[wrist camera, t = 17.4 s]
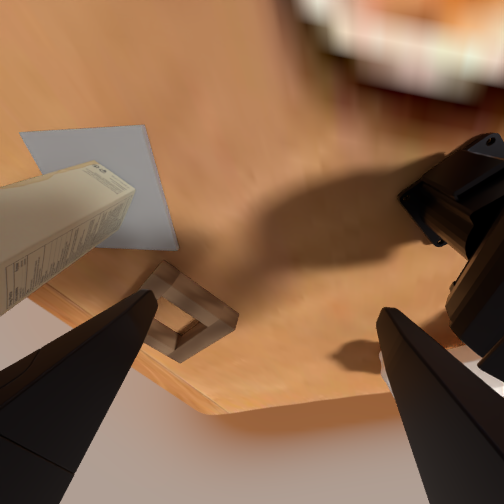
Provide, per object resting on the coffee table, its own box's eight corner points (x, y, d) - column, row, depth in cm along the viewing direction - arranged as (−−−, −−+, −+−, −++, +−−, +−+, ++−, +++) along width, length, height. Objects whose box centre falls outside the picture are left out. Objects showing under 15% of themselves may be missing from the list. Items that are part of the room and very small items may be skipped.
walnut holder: (239, 314, 29) (235, 329, 27) (186, 348, 36) (180, 363, 34) (163, 259, 25) (152, 272, 23) (122, 309, 32) (110, 323, 30)
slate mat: (144, 124, 18) (140, 125, 17) (179, 248, 24) (177, 250, 24) (25, 131, 19) (18, 132, 19) (87, 244, 26) (83, 246, 26)
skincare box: (95, 158, 19) (-120, 209, 9) (139, 190, 20) (-10, 268, 10) (81, 207, 22) (-89, 286, 12) (120, 233, 24) (-7, 324, 14)
